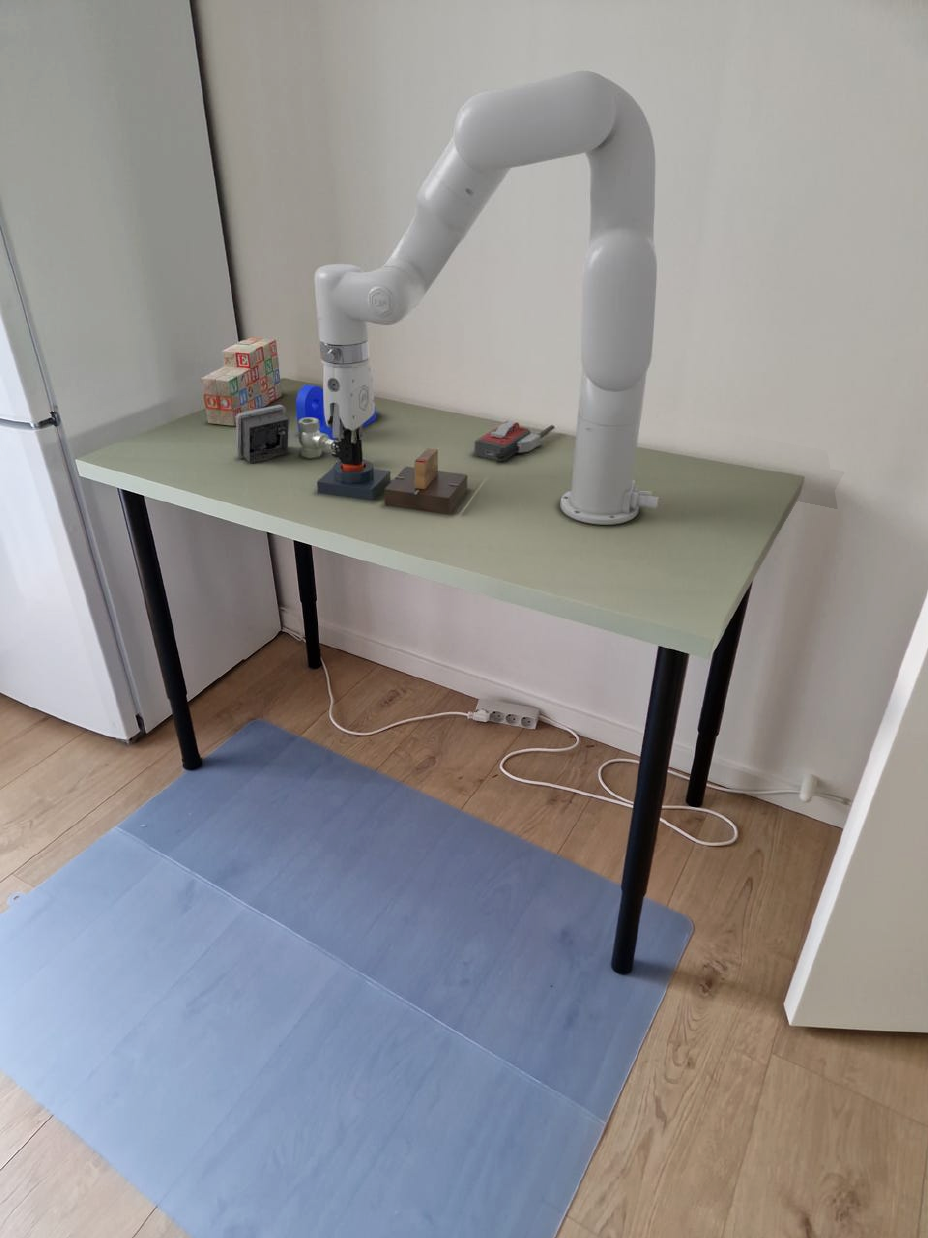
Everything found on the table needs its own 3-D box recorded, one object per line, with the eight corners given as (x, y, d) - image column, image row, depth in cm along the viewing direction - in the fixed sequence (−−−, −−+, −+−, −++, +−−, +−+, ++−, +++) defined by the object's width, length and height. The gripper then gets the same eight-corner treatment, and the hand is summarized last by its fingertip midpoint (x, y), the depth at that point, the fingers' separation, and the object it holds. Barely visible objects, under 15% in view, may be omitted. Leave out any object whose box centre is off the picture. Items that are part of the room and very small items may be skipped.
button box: (390, 482, 140) (389, 461, 138) (373, 501, 134) (371, 478, 132) (337, 475, 143) (336, 454, 141) (317, 493, 136) (315, 471, 134)
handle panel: (467, 490, 138) (467, 472, 136) (448, 516, 130) (448, 498, 128) (407, 481, 141) (406, 464, 139) (384, 506, 132) (383, 488, 130)
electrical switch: (282, 447, 154) (279, 400, 148) (295, 457, 151) (292, 410, 145) (236, 458, 149) (230, 410, 143) (248, 469, 146) (243, 421, 140)
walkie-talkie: (510, 467, 147) (557, 434, 161) (511, 444, 144) (559, 412, 159) (468, 457, 150) (518, 426, 165) (468, 434, 148) (519, 404, 162)
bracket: (333, 442, 156) (330, 396, 151) (298, 435, 159) (294, 389, 154) (383, 415, 170) (381, 372, 165) (350, 408, 173) (347, 366, 168)
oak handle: (427, 473, 136) (427, 446, 134) (438, 474, 136) (437, 447, 133) (414, 488, 131) (413, 460, 128) (425, 489, 131) (424, 461, 128)
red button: (367, 470, 138) (367, 460, 137) (359, 478, 135) (358, 468, 134) (348, 467, 139) (347, 457, 138) (339, 475, 136) (338, 465, 135)
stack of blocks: (235, 427, 163) (226, 365, 156) (207, 424, 164) (197, 362, 157) (282, 395, 180) (276, 338, 173) (257, 392, 181) (249, 335, 175)
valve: (290, 457, 150) (336, 473, 143) (286, 422, 146) (334, 437, 140) (317, 447, 154) (362, 462, 148) (313, 413, 150) (360, 427, 144)
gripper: (347, 366, 119) (354, 483, 129) (385, 341, 131) (389, 450, 141) (300, 361, 121) (311, 476, 131) (342, 337, 133) (349, 444, 143)
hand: (352, 462), depth 136 cm, fingers closed
